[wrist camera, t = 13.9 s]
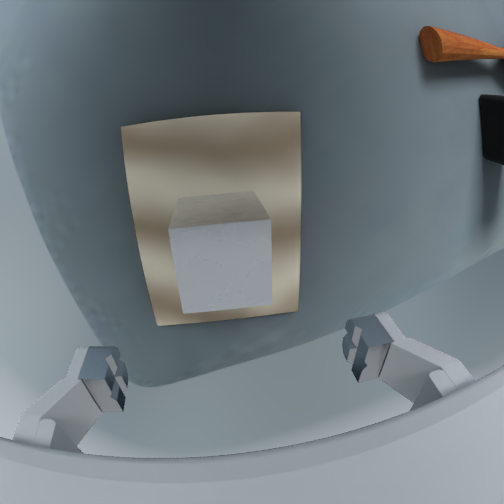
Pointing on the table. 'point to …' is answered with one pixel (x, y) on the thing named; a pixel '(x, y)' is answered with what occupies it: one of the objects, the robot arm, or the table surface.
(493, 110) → the battery
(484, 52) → the kendama
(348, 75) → the table surface
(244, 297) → the brushed metal cube
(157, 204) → the holder
